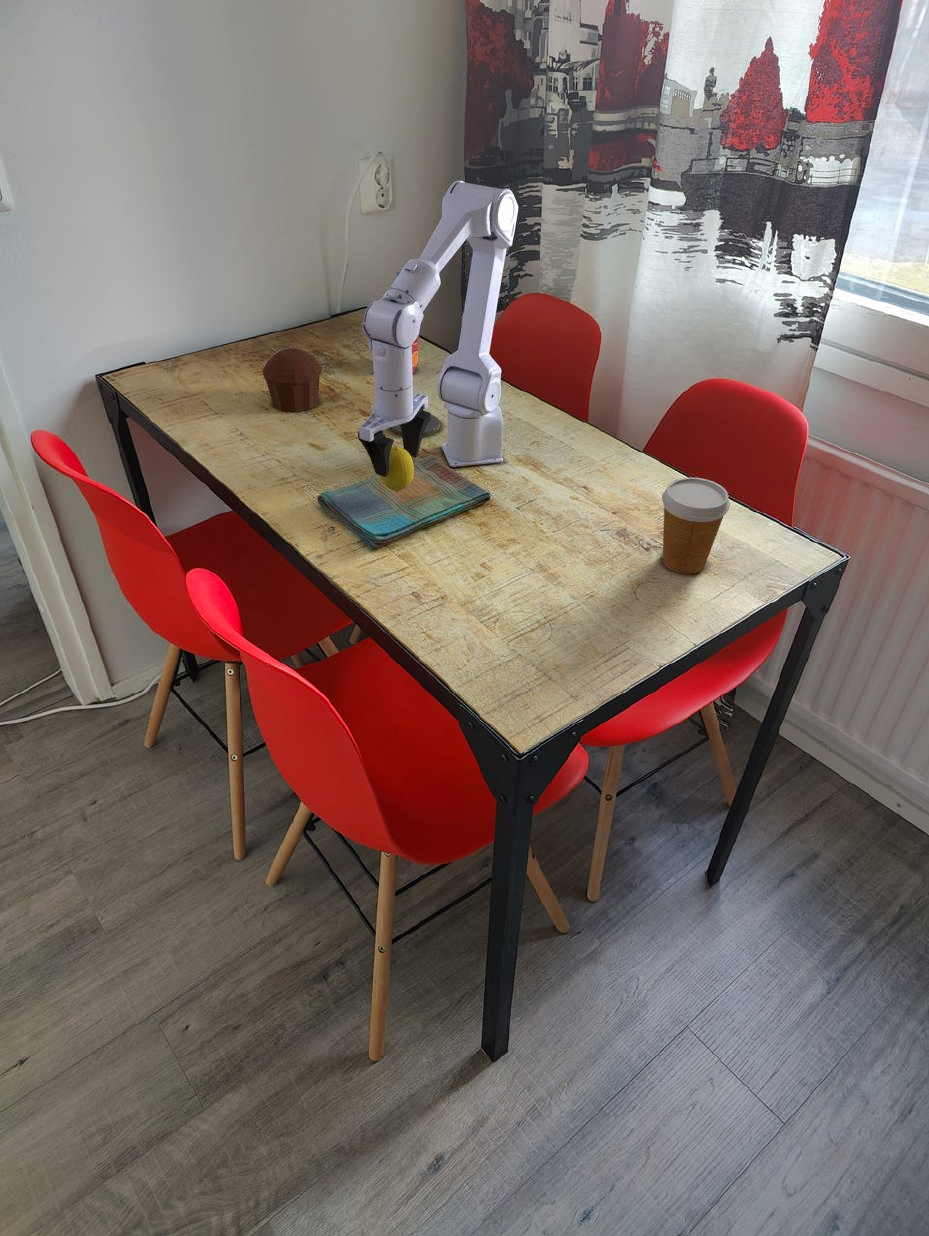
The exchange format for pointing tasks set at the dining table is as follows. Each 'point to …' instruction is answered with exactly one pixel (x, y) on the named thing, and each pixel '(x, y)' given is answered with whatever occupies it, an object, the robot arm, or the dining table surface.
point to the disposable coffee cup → (691, 522)
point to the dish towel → (402, 503)
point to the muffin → (293, 380)
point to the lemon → (399, 470)
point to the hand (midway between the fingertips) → (396, 464)
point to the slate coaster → (429, 430)
